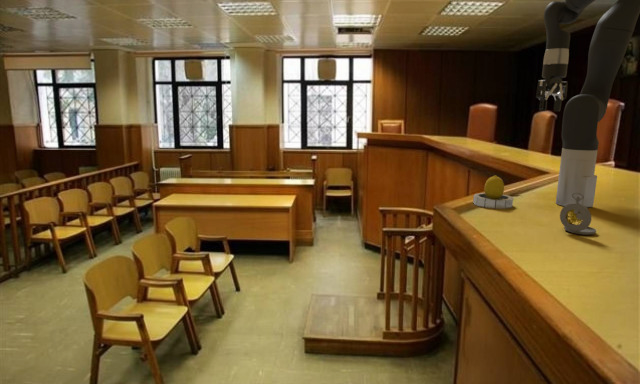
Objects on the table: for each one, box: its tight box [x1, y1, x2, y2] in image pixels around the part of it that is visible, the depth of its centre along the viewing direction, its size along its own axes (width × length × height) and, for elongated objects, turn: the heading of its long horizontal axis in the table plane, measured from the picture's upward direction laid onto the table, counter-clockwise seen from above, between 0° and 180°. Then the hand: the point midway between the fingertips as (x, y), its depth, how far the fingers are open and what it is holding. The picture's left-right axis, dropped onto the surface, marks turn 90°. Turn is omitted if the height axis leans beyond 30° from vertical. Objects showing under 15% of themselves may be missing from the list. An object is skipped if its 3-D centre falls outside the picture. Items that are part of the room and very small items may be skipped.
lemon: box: [483, 175, 505, 199], centre depth 133 cm, size 6×6×8 cm
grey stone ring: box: [472, 192, 514, 210], centre depth 133 cm, size 11×11×2 cm
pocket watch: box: [559, 193, 597, 236], centre depth 103 cm, size 8×8×10 cm
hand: (549, 111), depth 153 cm, fingers open, 8 cm apart
